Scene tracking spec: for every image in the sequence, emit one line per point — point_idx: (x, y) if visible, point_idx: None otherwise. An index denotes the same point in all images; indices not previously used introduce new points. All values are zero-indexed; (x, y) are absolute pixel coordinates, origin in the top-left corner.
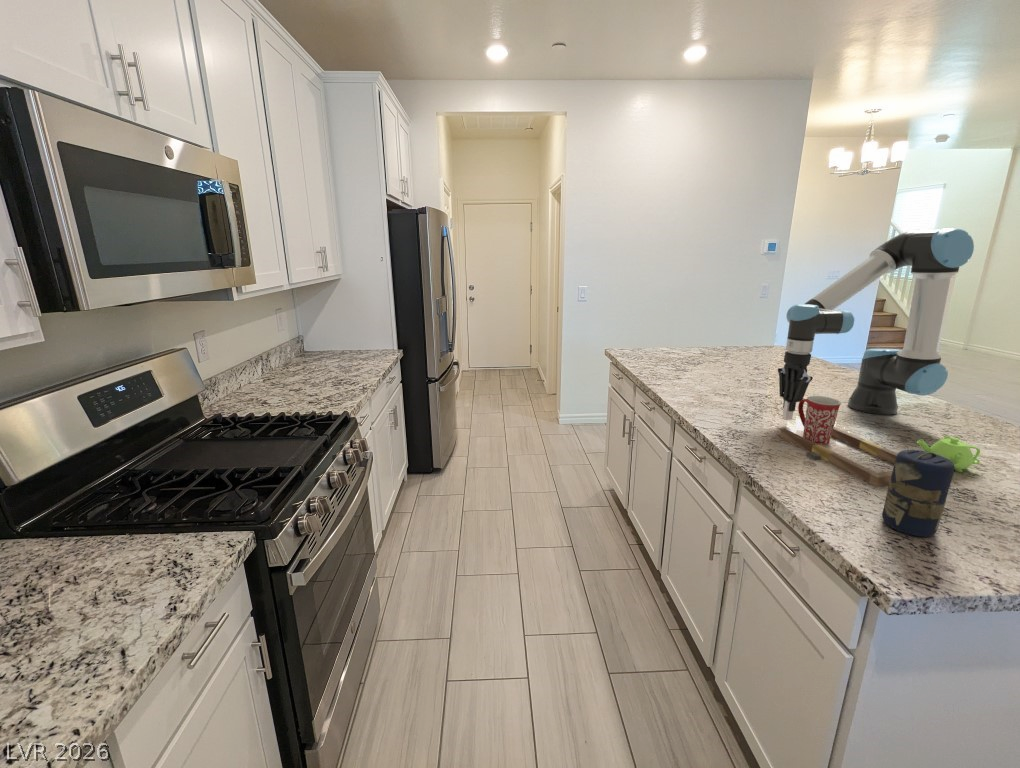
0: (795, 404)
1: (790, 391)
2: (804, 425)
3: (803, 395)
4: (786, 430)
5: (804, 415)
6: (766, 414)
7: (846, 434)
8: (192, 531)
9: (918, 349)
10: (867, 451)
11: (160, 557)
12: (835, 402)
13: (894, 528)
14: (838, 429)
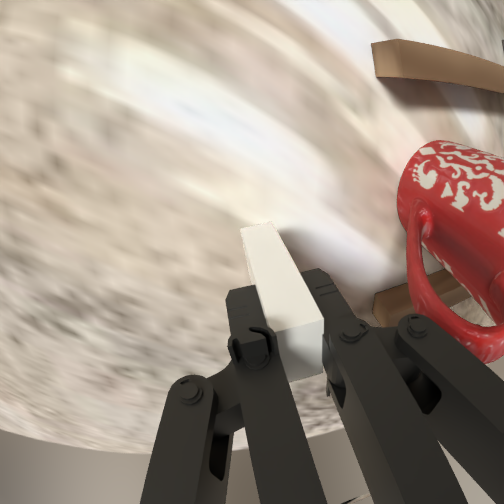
0: (350, 312)
1: (363, 465)
2: (443, 266)
3: (477, 367)
4: (401, 317)
5: (419, 249)
6: (59, 251)
7: (492, 90)
8: (352, 500)
9: None
10: None
11: (366, 495)
12: None
13: None
14: (452, 63)
